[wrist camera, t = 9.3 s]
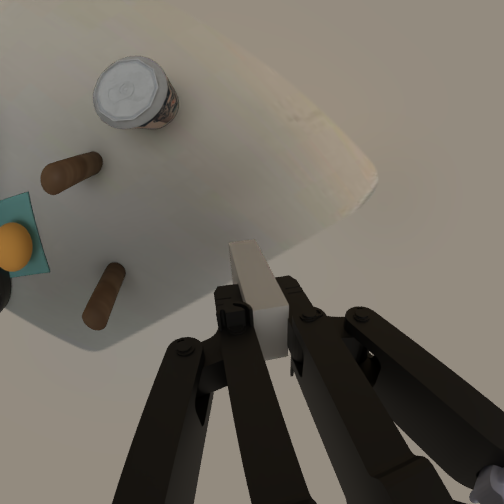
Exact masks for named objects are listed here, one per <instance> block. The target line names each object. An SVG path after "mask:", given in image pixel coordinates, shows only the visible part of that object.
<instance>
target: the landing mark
mask: <svg viewBox="0 0 504 504" xmlns="http://www.w3.org/2000/svg"><path fill="white" fill-rule="evenodd" d="M10 222H14V223H18V224H21V225H22V226H24V227H25V228H26V229H27V231H28V232H29V234H30V236H31V239H32V245H33V249H32V255H31V258H30V260H29V262H28V263H27V265H26V266H25V267H23V268H22V269H20V270H18V271H15V272H9V273H10V278H12V277H19V276H26V275H33V274H40V273H47V272H50V269H49V266H48V263H47V260H46V257H45V254H44V251H43V248H42V244H41V241H40V237H39V234H38V230H37V227H36V223H35V219H34V215H33V211H32V206H31V202H30V197H29V192H26V193H22V194H19V195H16V196H13V197H10V198H7V199H4V200H1V201H0V227H1V226H2V225H4V224H6V223H10Z"/></svg>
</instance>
